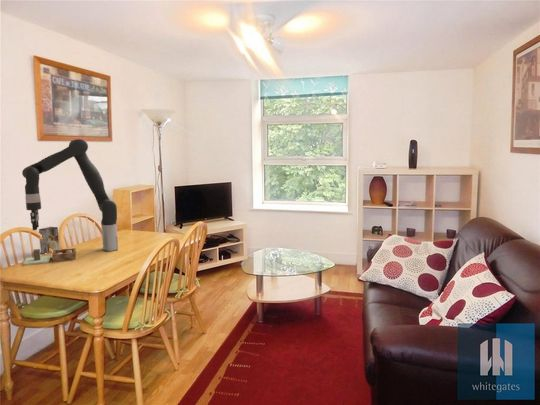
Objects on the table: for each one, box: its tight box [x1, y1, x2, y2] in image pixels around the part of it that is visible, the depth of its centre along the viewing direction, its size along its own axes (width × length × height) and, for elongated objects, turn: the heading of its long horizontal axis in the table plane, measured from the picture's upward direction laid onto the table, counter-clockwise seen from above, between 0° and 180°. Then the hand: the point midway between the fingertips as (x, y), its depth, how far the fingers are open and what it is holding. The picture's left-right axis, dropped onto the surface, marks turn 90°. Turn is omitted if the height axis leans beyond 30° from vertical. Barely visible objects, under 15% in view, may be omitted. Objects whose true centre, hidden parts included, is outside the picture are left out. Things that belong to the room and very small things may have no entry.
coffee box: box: [38, 226, 61, 254], centre depth 260 cm, size 9×6×16 cm
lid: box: [22, 248, 52, 267], centre depth 237 cm, size 13×13×7 cm
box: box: [51, 247, 77, 263], centre depth 243 cm, size 12×12×5 cm
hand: (35, 228), depth 235 cm, fingers open, 8 cm apart
